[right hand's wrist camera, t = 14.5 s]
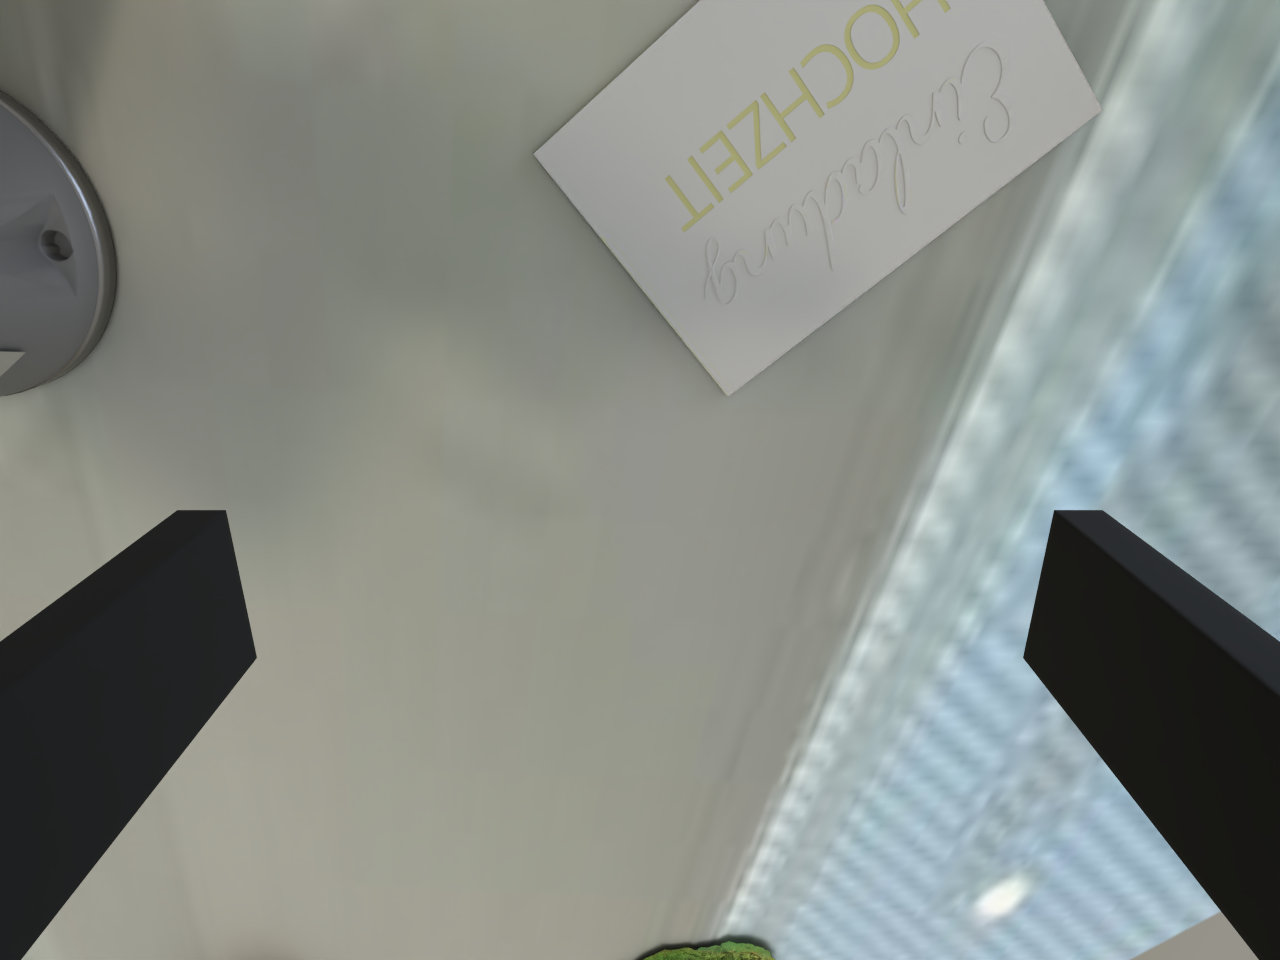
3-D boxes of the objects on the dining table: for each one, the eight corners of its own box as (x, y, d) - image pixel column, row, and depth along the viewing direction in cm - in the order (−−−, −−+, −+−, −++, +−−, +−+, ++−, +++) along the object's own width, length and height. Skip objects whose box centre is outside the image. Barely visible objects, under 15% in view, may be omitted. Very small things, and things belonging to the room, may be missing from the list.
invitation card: (929, -211, 32) (1103, 109, 36) (926, -208, 32) (1100, 110, 36) (533, 154, 37) (728, 397, 41) (533, 154, 37) (727, 396, 41)
